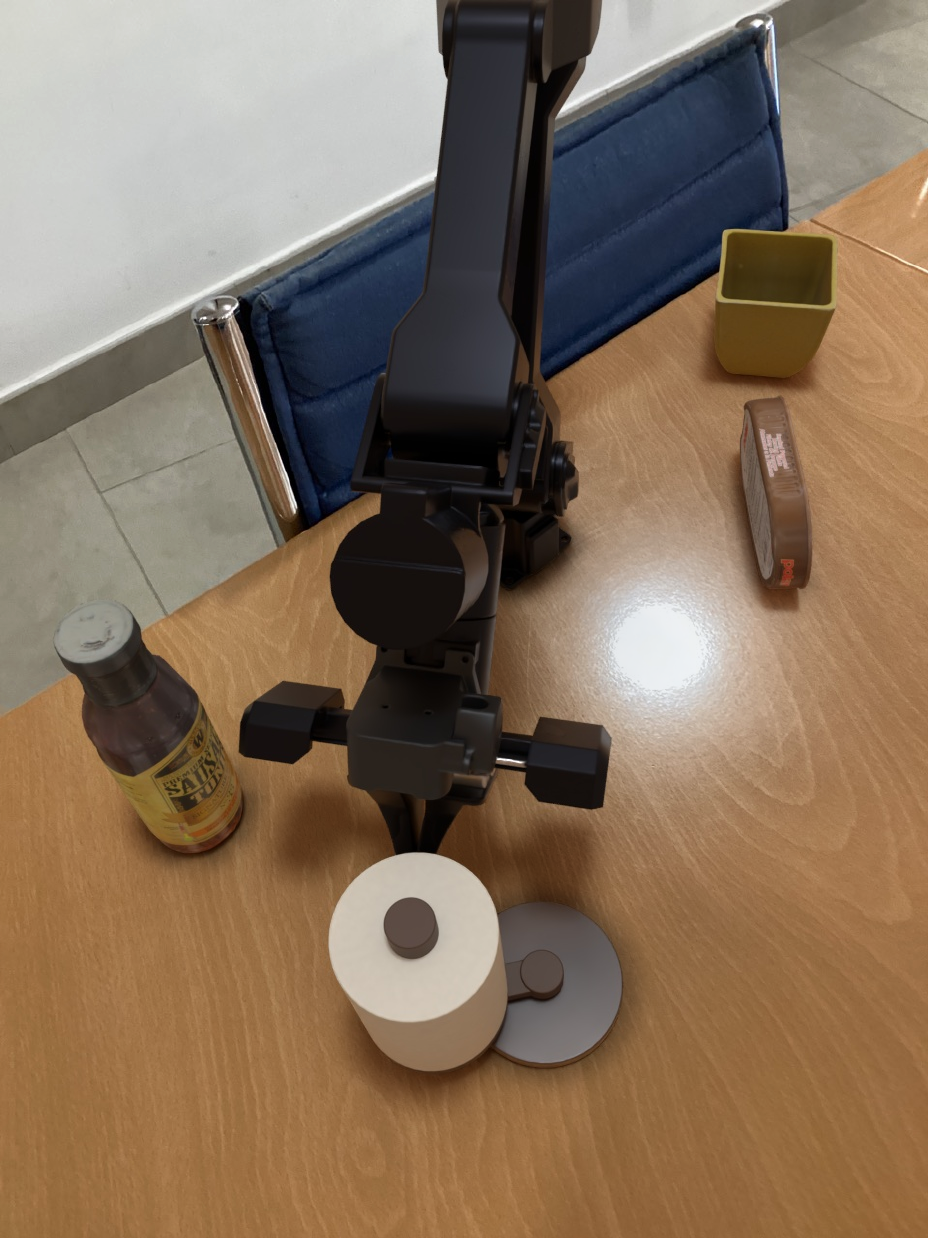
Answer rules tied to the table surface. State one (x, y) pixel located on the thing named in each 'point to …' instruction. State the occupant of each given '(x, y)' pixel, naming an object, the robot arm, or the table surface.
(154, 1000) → the table surface
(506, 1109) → the table surface
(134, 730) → the sauce bottle
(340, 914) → the paper towel roll
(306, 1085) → the table surface
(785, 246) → the flower pot
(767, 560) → the tin
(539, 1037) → the swivel base
